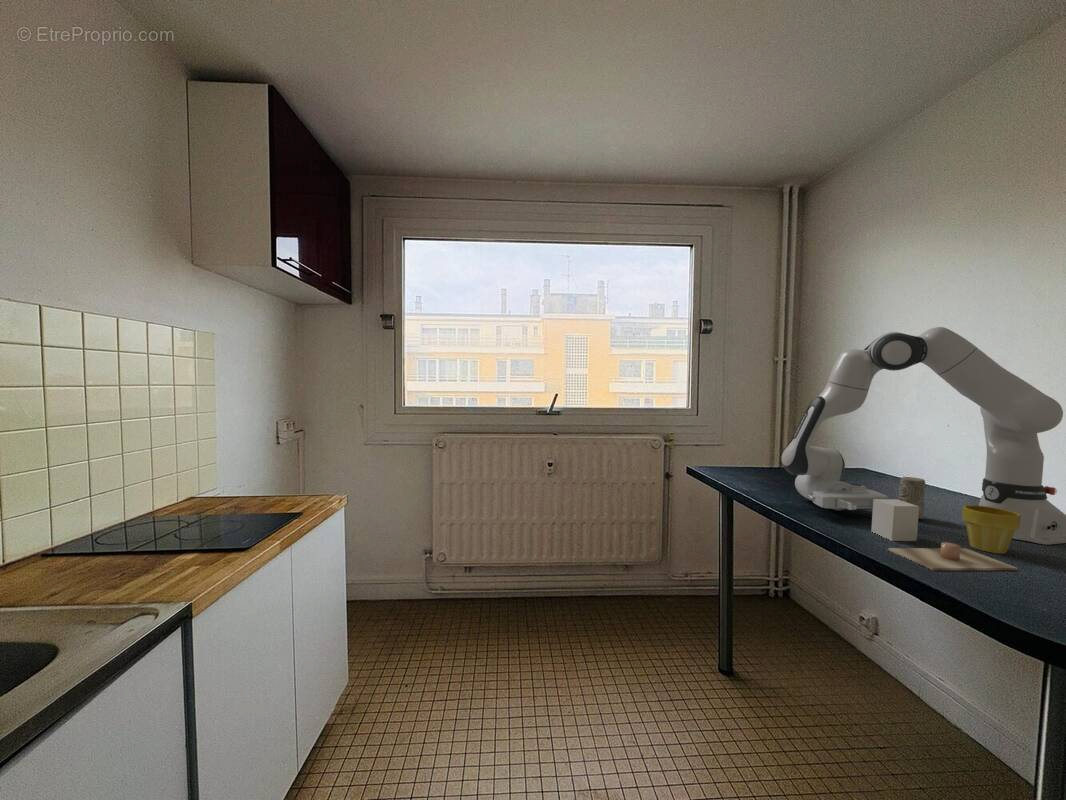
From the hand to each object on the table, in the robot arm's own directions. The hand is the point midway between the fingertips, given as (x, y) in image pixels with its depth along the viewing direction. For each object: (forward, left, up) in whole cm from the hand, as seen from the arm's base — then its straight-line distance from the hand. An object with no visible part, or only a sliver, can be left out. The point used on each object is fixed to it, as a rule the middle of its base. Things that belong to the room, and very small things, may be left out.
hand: (869, 507), depth 136 cm
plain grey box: (0, +9, -5) cm, 10 cm away
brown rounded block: (0, +25, -5) cm, 25 cm away
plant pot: (-17, +18, -6) cm, 25 cm away
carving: (-20, -8, -6) cm, 22 cm away
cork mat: (0, +25, -5) cm, 25 cm away
